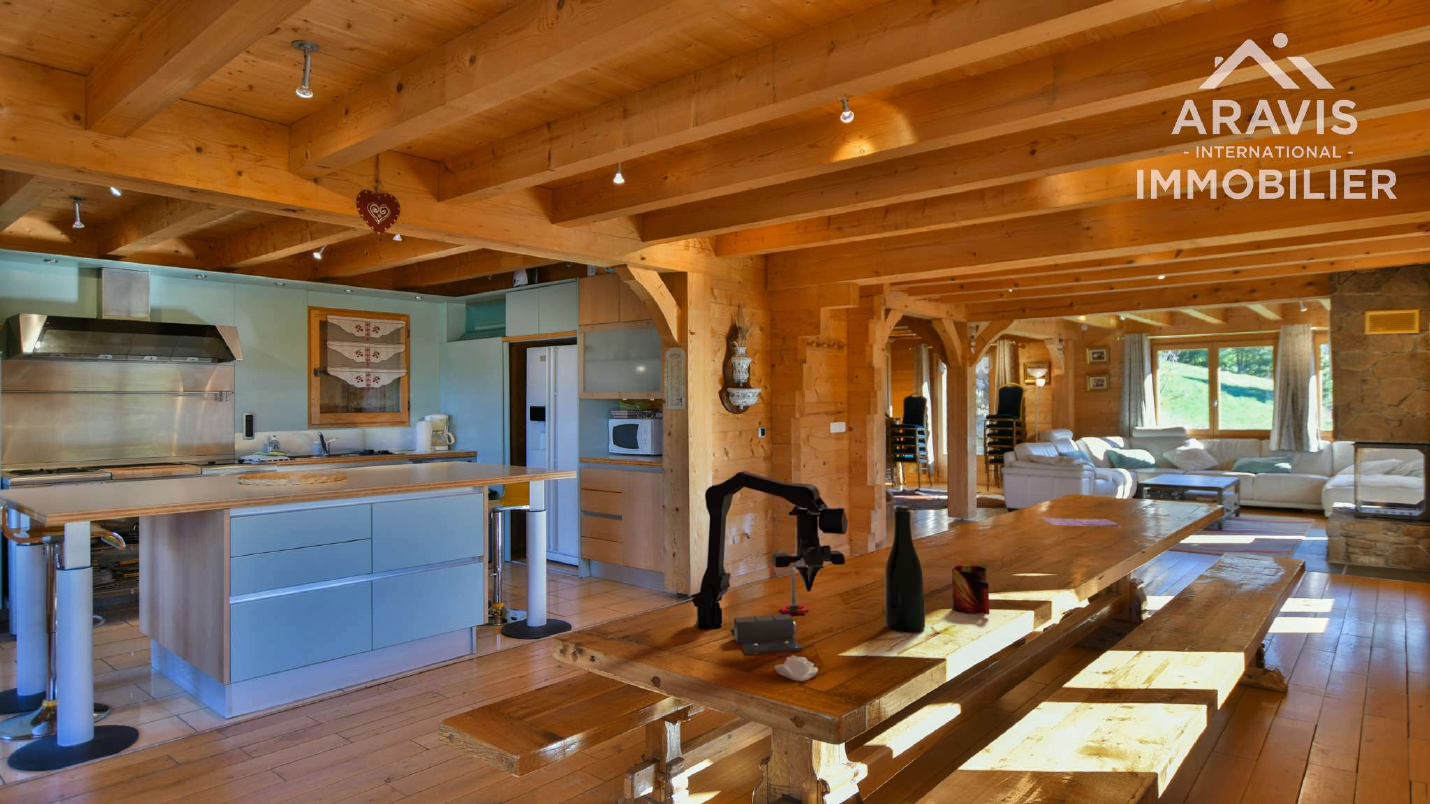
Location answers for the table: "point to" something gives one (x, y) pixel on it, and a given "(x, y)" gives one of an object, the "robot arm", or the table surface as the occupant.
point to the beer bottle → (904, 579)
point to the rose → (797, 668)
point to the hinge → (765, 634)
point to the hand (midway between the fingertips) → (808, 591)
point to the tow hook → (794, 601)
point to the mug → (970, 589)
